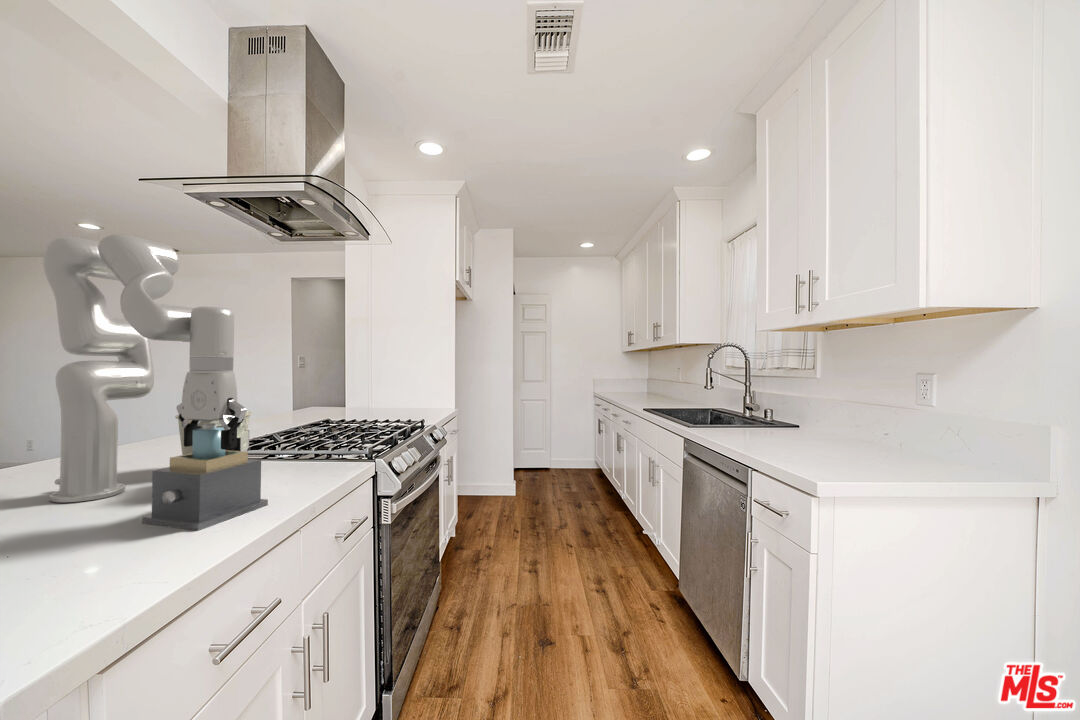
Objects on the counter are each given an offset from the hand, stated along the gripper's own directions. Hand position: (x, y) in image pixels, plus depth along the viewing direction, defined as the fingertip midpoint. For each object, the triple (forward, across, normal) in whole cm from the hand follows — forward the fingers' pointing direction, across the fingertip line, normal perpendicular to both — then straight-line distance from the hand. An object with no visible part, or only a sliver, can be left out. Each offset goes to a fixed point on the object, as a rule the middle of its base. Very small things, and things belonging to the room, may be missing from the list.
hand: (210, 446), depth 95 cm
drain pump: (+4, 0, 0) cm, 4 cm away
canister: (+14, -33, +29) cm, 46 cm away
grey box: (+14, 0, 0) cm, 14 cm away
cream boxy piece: (+14, -16, +18) cm, 28 cm away
